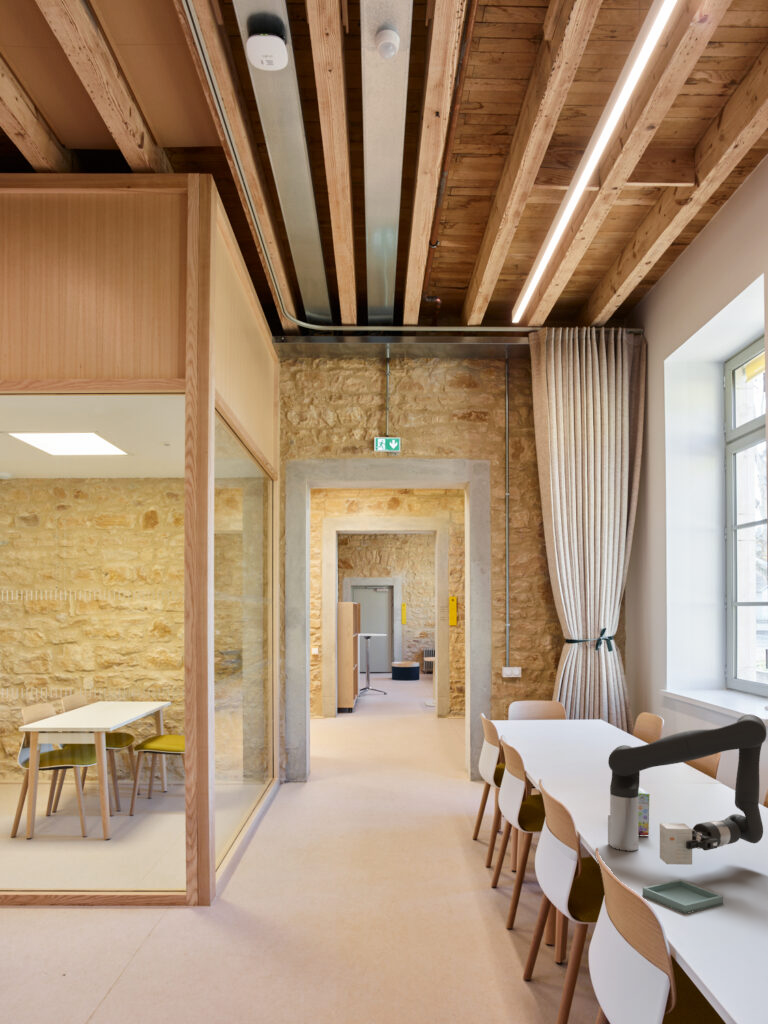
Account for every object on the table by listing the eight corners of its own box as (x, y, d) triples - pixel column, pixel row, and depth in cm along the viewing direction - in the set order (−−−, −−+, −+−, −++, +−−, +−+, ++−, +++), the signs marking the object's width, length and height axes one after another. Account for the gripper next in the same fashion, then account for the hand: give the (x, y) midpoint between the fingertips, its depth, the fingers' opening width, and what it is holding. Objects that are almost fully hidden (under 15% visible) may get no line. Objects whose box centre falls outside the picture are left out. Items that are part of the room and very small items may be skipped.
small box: (684, 858, 244) (685, 823, 245) (692, 865, 239) (692, 828, 240) (659, 858, 244) (659, 822, 245) (666, 864, 238) (666, 828, 239)
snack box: (650, 837, 284) (650, 793, 286) (634, 836, 284) (634, 793, 286) (632, 820, 305) (632, 780, 307) (618, 820, 305) (618, 779, 307)
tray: (642, 895, 227) (642, 887, 227) (680, 887, 235) (679, 879, 235) (685, 913, 214) (685, 905, 214) (723, 904, 222) (723, 896, 222)
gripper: (692, 816, 256) (657, 822, 248) (731, 828, 244) (695, 835, 236) (692, 840, 255) (656, 847, 247) (731, 854, 243) (695, 861, 235)
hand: (675, 841), depth 241 cm, fingers closed on small box, 7 cm apart
